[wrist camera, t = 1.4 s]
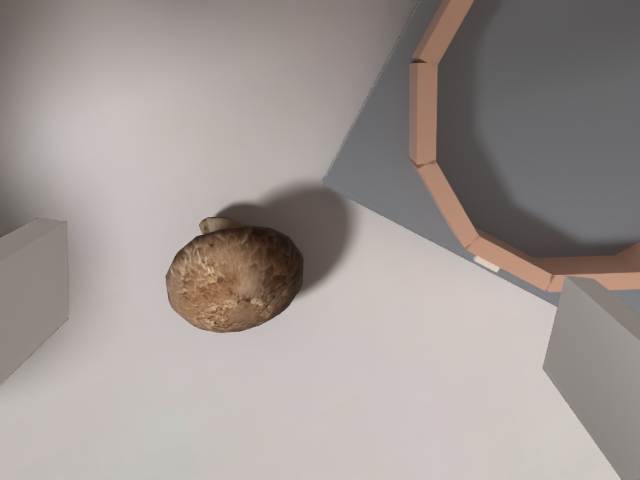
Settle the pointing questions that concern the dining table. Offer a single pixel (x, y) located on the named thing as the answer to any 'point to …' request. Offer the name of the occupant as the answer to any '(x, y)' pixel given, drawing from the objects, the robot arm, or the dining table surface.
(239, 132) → the dining table surface
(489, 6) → the socket
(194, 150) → the dining table surface
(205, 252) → the mushroom
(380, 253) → the dining table surface
